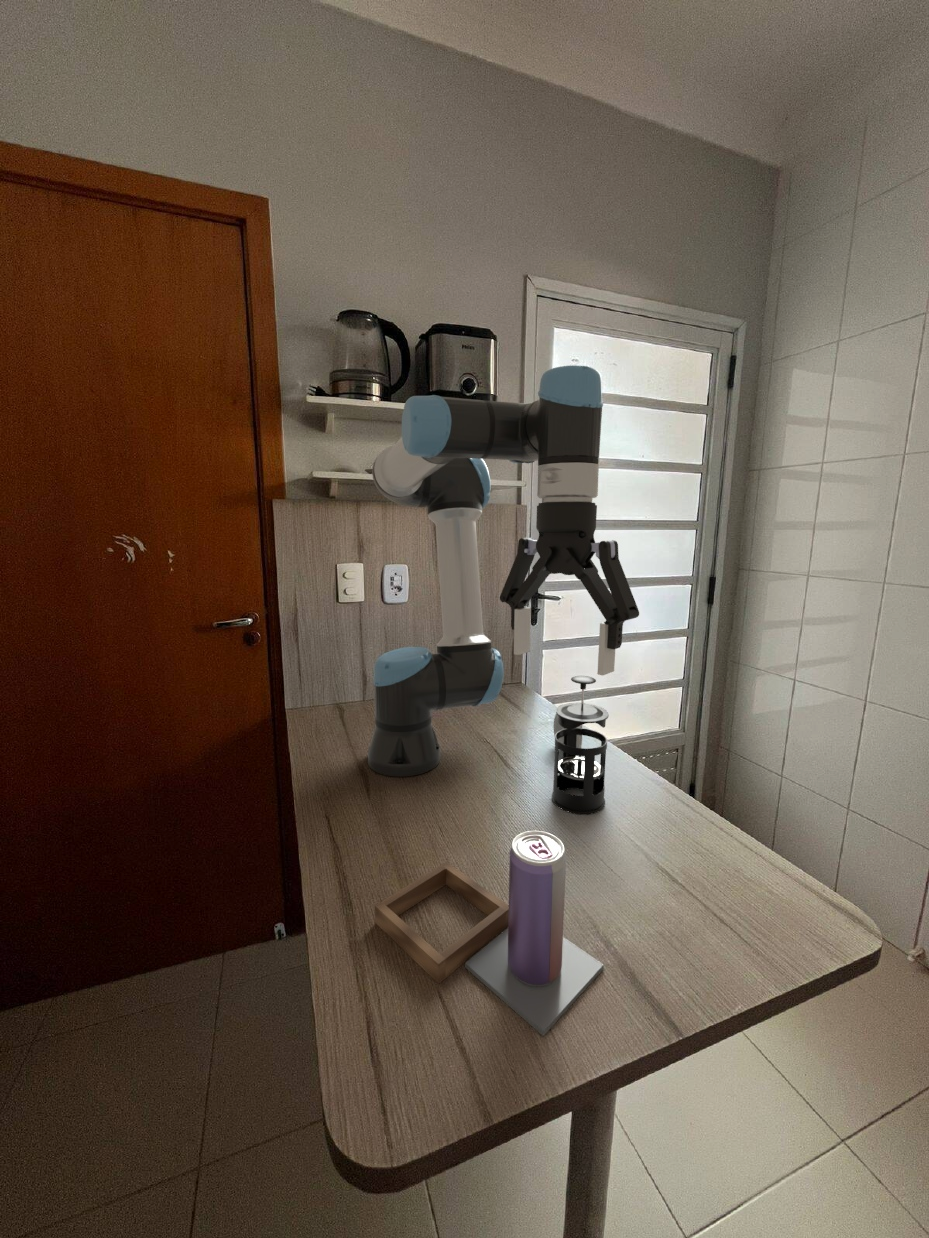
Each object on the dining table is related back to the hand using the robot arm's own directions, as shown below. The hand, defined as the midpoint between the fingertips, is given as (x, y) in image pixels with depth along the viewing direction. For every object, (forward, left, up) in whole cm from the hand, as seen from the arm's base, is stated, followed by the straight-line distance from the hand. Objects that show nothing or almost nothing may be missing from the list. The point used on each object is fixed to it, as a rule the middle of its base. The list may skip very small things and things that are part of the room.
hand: (560, 662), depth 69 cm
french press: (-8, +18, -31) cm, 37 cm away
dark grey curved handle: (-20, +32, -31) cm, 49 cm away
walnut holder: (-3, -19, -31) cm, 36 cm away
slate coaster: (+9, -16, -31) cm, 36 cm away
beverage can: (+9, -16, -30) cm, 36 cm away
